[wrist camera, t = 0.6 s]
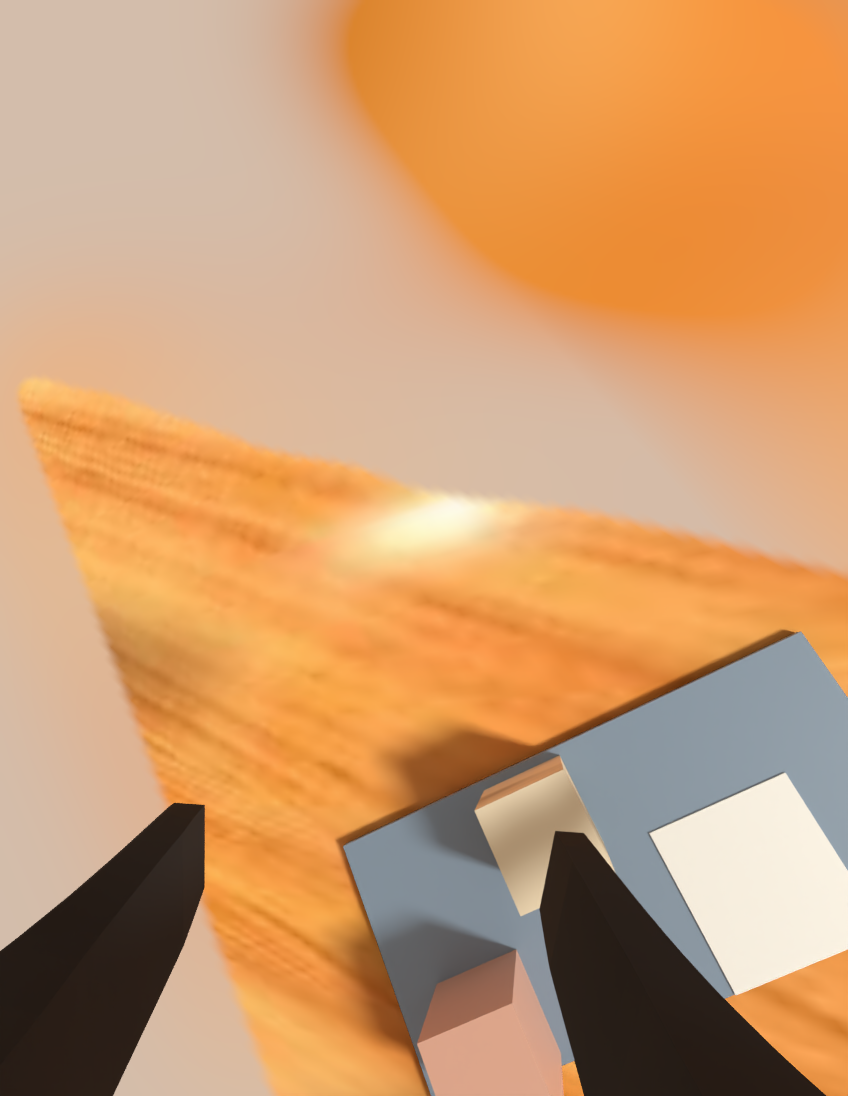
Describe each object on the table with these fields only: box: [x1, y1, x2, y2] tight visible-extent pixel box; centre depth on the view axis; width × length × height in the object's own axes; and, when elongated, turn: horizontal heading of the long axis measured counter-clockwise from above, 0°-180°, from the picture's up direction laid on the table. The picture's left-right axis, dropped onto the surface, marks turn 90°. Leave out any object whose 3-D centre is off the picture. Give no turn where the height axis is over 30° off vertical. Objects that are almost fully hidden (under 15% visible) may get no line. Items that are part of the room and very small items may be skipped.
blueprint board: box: [343, 632, 848, 1096], centre depth 29 cm, size 14×30×1 cm, turn 115°
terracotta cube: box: [417, 949, 564, 1096], centre depth 26 cm, size 5×5×5 cm
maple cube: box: [474, 755, 616, 916], centre depth 28 cm, size 5×5×5 cm
